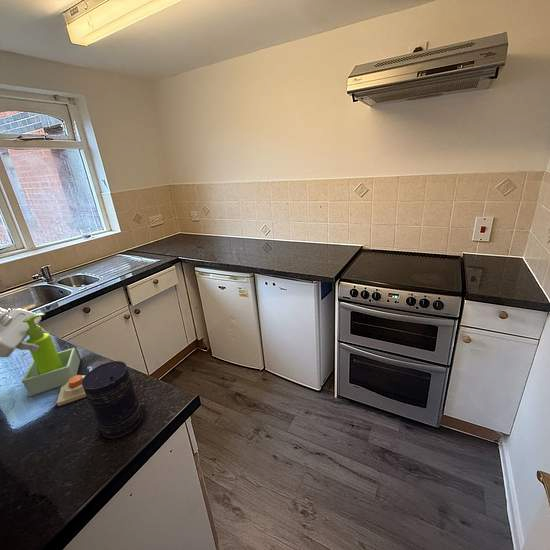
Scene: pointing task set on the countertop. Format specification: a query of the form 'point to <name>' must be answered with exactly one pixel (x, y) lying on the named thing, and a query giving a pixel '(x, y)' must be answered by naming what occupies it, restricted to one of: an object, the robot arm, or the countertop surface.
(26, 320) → the soap dispenser
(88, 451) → the countertop surface
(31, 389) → the box
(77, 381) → the button
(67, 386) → the control box
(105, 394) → the storage jar
